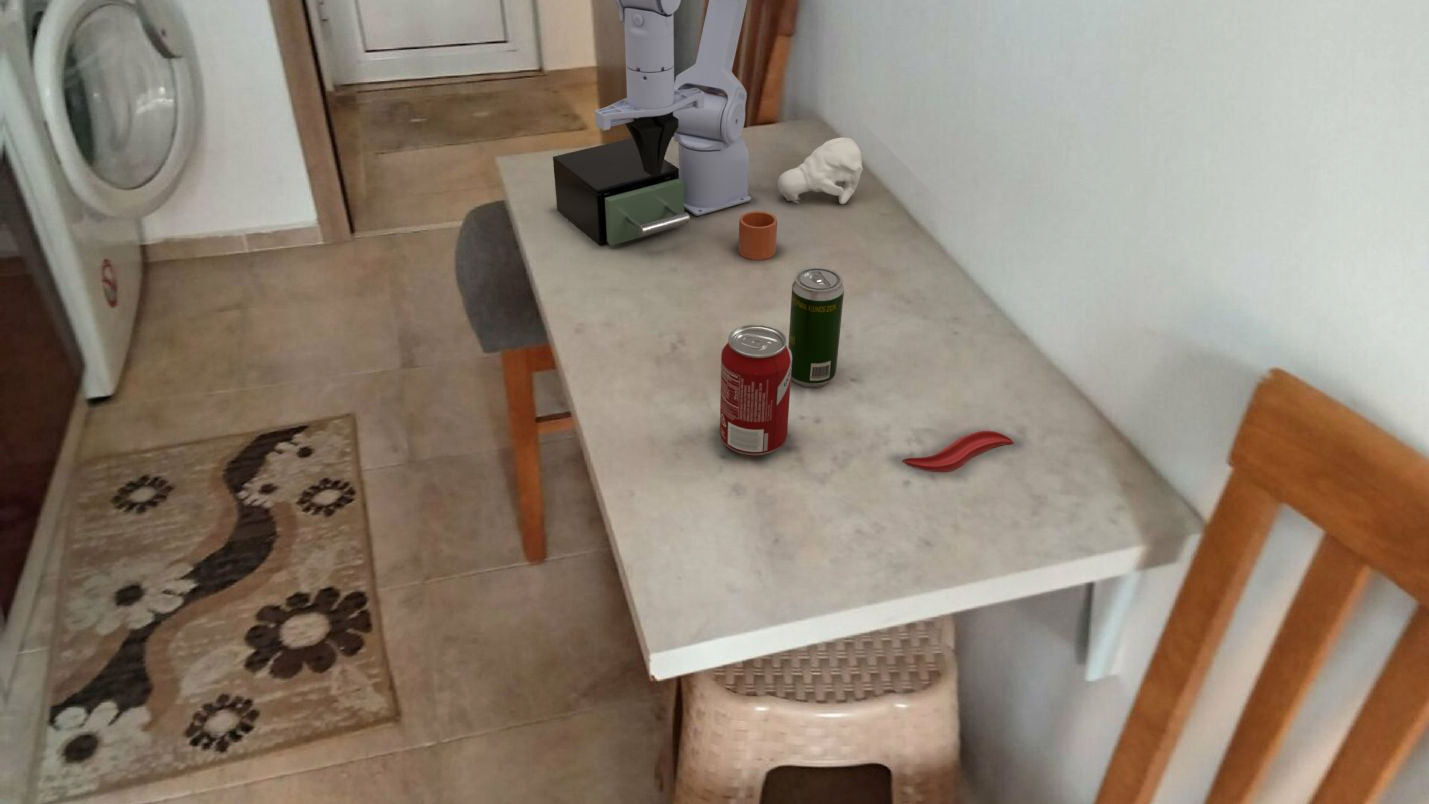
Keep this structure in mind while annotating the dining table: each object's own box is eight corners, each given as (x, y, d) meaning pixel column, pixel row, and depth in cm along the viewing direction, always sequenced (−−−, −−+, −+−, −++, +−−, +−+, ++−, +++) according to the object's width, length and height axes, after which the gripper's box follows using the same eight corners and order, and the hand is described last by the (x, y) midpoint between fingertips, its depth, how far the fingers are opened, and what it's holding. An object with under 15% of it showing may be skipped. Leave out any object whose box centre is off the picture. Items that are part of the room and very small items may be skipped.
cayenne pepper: (909, 475, 104) (912, 459, 103) (895, 445, 108) (897, 430, 107) (1026, 462, 106) (1029, 447, 105) (1007, 434, 109) (1011, 419, 108)
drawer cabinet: (679, 223, 147) (679, 168, 142) (599, 245, 141) (596, 189, 137) (634, 190, 155) (632, 137, 151) (556, 210, 150) (552, 156, 145)
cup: (761, 239, 143) (762, 207, 141) (782, 254, 140) (784, 222, 137) (731, 248, 141) (732, 216, 139) (752, 263, 138) (754, 231, 135)
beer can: (845, 381, 117) (854, 285, 110) (802, 393, 115) (809, 296, 108) (819, 356, 121) (827, 262, 114) (777, 368, 119) (783, 272, 112)
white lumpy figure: (867, 145, 147) (782, 160, 146) (866, 201, 152) (785, 216, 151) (852, 128, 152) (770, 142, 151) (852, 183, 157) (773, 197, 156)
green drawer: (703, 238, 142) (703, 194, 138) (629, 260, 136) (627, 215, 133) (641, 193, 152) (640, 151, 149) (571, 212, 147) (567, 169, 144)
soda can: (765, 469, 104) (770, 367, 97) (707, 445, 107) (707, 345, 100) (798, 433, 109) (805, 333, 102) (741, 412, 112) (744, 313, 105)
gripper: (682, 45, 134) (682, 149, 142) (579, 66, 127) (586, 173, 135) (714, 61, 129) (713, 167, 137) (609, 83, 122) (614, 194, 130)
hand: (652, 172), depth 135 cm, fingers closed
